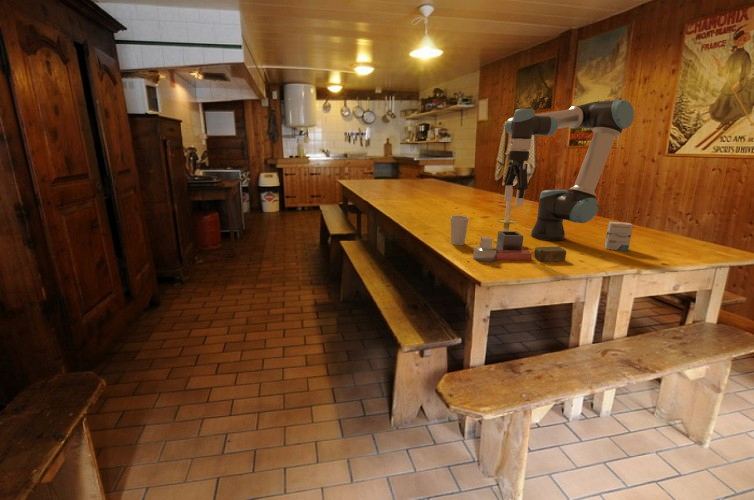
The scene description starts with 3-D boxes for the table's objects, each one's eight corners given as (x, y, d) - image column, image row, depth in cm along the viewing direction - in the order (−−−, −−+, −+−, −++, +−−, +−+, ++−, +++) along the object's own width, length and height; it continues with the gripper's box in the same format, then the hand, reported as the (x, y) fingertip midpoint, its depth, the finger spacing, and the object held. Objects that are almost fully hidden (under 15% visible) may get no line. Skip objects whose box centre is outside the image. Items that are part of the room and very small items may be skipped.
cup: (466, 246, 177) (468, 219, 174) (448, 244, 179) (450, 218, 175) (466, 241, 185) (468, 216, 181) (449, 240, 186) (450, 215, 183)
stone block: (532, 258, 162) (534, 246, 161) (558, 257, 164) (560, 245, 162) (539, 262, 156) (541, 250, 155) (566, 262, 158) (568, 249, 157)
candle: (492, 238, 192) (498, 181, 184) (514, 239, 190) (521, 182, 182) (494, 243, 182) (500, 184, 175) (517, 244, 181) (524, 185, 173)
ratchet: (524, 255, 165) (527, 235, 162) (533, 262, 156) (536, 241, 154) (470, 255, 164) (472, 235, 162) (476, 262, 156) (478, 240, 153)
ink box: (625, 248, 178) (630, 222, 174) (628, 251, 173) (633, 225, 170) (604, 246, 180) (608, 221, 177) (606, 249, 176) (610, 223, 172)
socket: (514, 249, 174) (516, 231, 171) (521, 254, 166) (523, 236, 164) (496, 249, 174) (498, 231, 171) (502, 254, 166) (504, 235, 164)
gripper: (500, 149, 170) (494, 198, 176) (521, 151, 146) (514, 208, 152) (517, 149, 170) (511, 199, 176) (542, 151, 146) (533, 209, 152)
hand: (512, 203), depth 164 cm, fingers open, 13 cm apart
